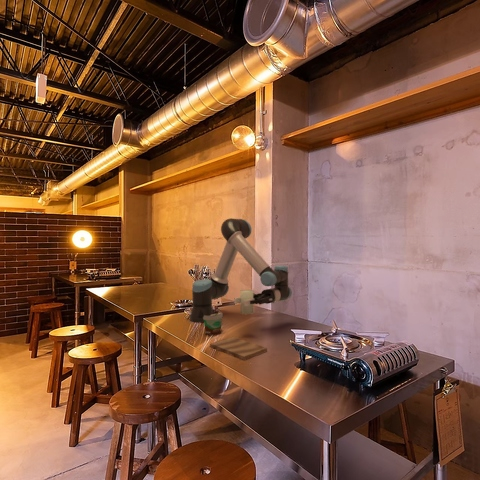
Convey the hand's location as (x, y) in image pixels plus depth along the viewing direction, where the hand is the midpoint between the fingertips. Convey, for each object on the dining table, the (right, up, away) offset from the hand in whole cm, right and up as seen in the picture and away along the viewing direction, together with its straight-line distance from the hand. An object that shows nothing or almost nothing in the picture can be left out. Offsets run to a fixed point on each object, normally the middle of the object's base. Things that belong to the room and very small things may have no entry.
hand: (239, 302), depth 155 cm
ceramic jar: (+4, -6, +4) cm, 8 cm away
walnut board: (-1, -18, -14) cm, 23 cm away
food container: (-12, -18, +9) cm, 24 cm away
